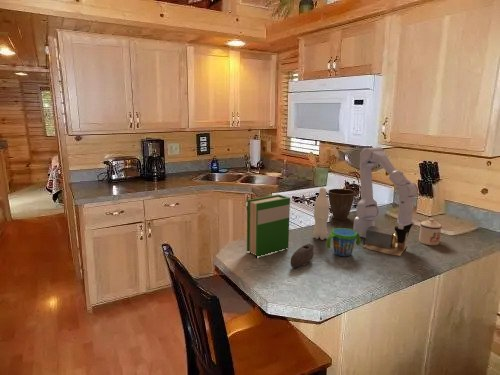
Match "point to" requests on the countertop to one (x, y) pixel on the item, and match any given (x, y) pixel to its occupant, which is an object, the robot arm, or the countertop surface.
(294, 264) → the perforated stone tool
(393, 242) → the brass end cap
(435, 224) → the teacup with lid
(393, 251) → the mounting board
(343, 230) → the snack cup
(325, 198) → the water bottle
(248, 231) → the hardback book
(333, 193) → the plant pot
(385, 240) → the gunmetal housing
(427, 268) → the countertop surface
